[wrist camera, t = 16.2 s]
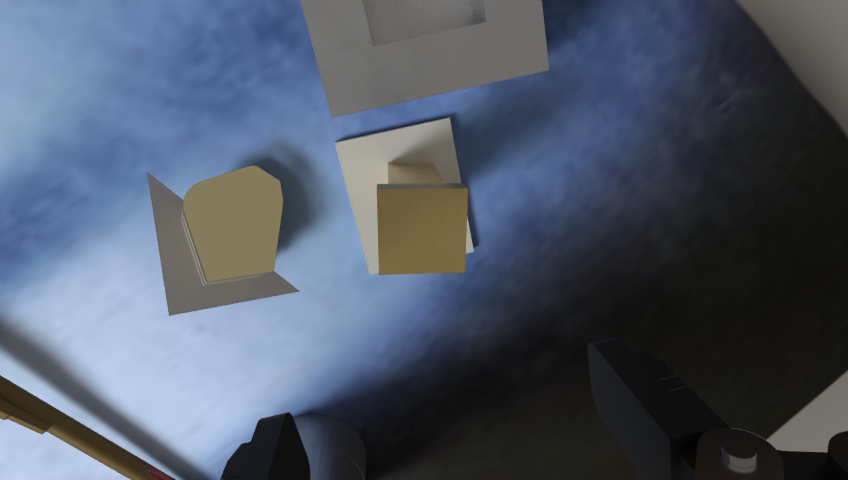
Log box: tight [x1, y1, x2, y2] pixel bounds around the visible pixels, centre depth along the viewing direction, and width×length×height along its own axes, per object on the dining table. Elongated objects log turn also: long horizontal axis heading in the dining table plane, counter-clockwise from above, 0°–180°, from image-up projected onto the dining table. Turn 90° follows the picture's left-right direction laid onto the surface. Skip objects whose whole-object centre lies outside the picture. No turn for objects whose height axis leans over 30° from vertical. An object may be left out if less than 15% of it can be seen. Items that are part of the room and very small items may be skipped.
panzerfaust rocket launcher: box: [0, 375, 175, 480], centre depth 35 cm, size 5×35×5 cm, turn 42°
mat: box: [335, 117, 474, 275], centre depth 34 cm, size 10×8×1 cm
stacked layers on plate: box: [147, 166, 299, 316], centre depth 32 cm, size 10×9×6 cm
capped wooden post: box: [377, 163, 468, 275], centre depth 28 cm, size 4×4×11 cm
